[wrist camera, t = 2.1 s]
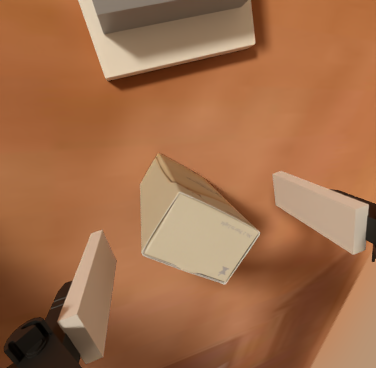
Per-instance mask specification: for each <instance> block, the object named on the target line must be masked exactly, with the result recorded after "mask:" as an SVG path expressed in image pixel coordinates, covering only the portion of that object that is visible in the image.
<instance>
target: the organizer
mask: <svg viewBox="0 0 376 368" xmlns="http://www.w3.org/2000/svg"><path fill="white" fill-rule="evenodd" d="M78 1H79V4H80V7H81V9H82V12H83V15H84V18H85V21H86V24H87V27H88V30H89V32H90V35H91V38H92V41H93V44H94V47H95V50H96V53H97V56H98V58H99V61H100V64H101V67H102V70H103V73H104V76H105V79H106V80H107V81H110V80H115V79H119V78H123V77H128V76H132V75H136V74H140V73H145V72H149V71H153V70H158V69H162V68H166V67H171V66H175V65H179V64H184V63H188V62H192V61H197V60H201V59H205V58H209V57H214V56H218V55H222V54H227V53H231V52H235V51H240V50H244V49H248V48H250V47H251V46H253V45H255V34H254V25H253V15H252V6H251V0H78Z"/></svg>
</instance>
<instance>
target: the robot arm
mask: <svg viewBox="0 0 376 368" xmlns="http://www.w3.org/2000/svg"><path fill="white" fill-rule="evenodd" d="M273 184H274V193H275V203H276V206H278V207H280V208H281V209H283V210H284V211H286V212H287V213H289V214H290V215H292V216H294V217H295V218H297V219H298V220H300V221H301V222H303V223H304V224H306V225H308V226H309V227H311V228H312V229H314V230H315V231H317V232H318V233H320V234H322V235H323V236H325V237H326V238H328V239H329V240H331V241H332V242H334V243H336V244H337V245H339V246H340V247H342V248H343V249H345V250H346V251H348V252H350V253H351V254H353V255H354V254H357V253H359V252H361V251H364V250H365V248H366V240H367V241H369V242H371V243H373V252H372V262H374V261H375V259H376V204H374V203H372V202H369V201H366V200H364V199H361V198H358V197H355V196H353V195H350V194H349V195H348V194H347V193H345V192H342V191H339V190H333V189H327V188H324V187H322V186H319V185H317V184H314V183H311V182H309V181H306V180H304V179H301V178H298V177H296V176H293V175H290V174H288V173H285V172H283V171H280V172H277V173H274V174H273ZM116 262H117V260H116V258H115V256H114V254H113V252H112V250H111V247H110V245H109V243H108V241H107V239H106V237H105V234H104V232H103V230H100V231H97V232H94V233H91V235H90V238H89V240H88V243H87V245H86V248H85V251H84V253H83V256H82V258H81V261H80V264H79V266H78V269H77V271H76V274H75V276H74V279H73V281H70V282H67V283H65V284H64V285H63V286H62V288H61V289H60V290H59V291H58V293H57V295H56V297H55V299H54V302H53V304H52V306H51V310H50V311H49V313H48V315H47V317H46V320H44V319H43V318H41V317H39V318H34V319H31V320H29V321H27V322H26V323H24V324H23V325H21V326H20V327H19V328H18V329H16V330H15V331H14V332H13V333H12V335H11V336H10V337H9V338H8V340H7V341H6V343H5V346H4V352H5V354H6V355H7V356H8V357H9V358H10V359H11V360H12V362H13V364H12V365H10V366H8V367H7V368H82V367H81V366H80V365H79V360H80V357H81V358H82V359H83V361H84V362H85V364H88V363H90V362H93V361H95V360H98V359H100V358H103V356H104V349H105V342H106V334H107V327H108V320H109V313H110V305H111V298H112V291H113V284H114V276H115V269H116Z"/></svg>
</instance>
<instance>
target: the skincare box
mask: <svg viewBox="0 0 376 368" xmlns="http://www.w3.org/2000/svg"><path fill="white" fill-rule="evenodd" d="M140 205H141V253H142V255H143V256H144V257H147V258H150V259H153V260H155V261H158V262H160V263H164V264H166V265H169V266H172V267H174V268H177V269H180V270H182V271H185V272H188V273H191V274H195V275H197V276H201V277H204V278H206V279H210V280H213V281H216V282H219V283H221V284H226V283H227V282H228V280H229V278H230V277H231V276H232V274H233V273H234V272H235V270H236V269H237V267H238V266H239V265H240V263H241V262H242V260H243V259H244V257H245V256H246V254H247V253H248V252H249V250H250V249H251V247H252V246H253V244H254V243H255V241H256V240H257V238H258V237H259V235H260V231H259V230H257V229H256V228H255V227H254V226H253V225H252V224H251V223H250V222H249V221H248V220H247V219H246V218H245V217H243V216H242V215H241V214H240V213H239V212H238V211H237V210H236V209H235V208H234V207H233V206H232V205H231V204H230V203H229V202H228V201H227V200H226V199H225V198H224V197H223V196H222V195H221V194H220V193H219V192H218V191H217V190H216V189H215V188H214V187H213V186H212V185H211V184H210V183H209V182H208V181H207V180H206V179H205V178H203V177H202V176H200V175H198V174H196V173H195V172H193V171H191V170H190V169H188V168H186V167H184V166H183V165H181V164H179V163H177V162H175V161H174V160H172V159H170V158H168V157H166V156H165V155H163V154H161V153H158V154H157V156H156V157H155V159H154V161H153V162H152V164H151V166H150V168H149V169H148V171H147V173H146V175H145V176H144V178H143V180H142V182H141V184H140Z"/></svg>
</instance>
